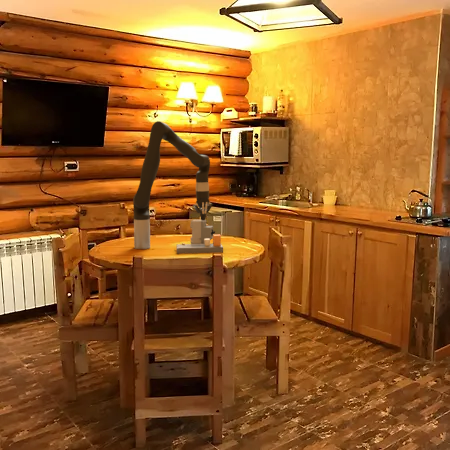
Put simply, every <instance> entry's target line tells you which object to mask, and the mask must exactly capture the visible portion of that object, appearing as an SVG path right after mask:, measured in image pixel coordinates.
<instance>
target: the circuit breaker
mask: <svg viewBox="0 0 450 450" xmlns="http://www.w3.org/2000/svg"><path fill="white" fill-rule="evenodd" d="M189 226H190V229H191V237H190V244H204V239H208V238H209V239H210V241H211V240H213V235H215V234H216V231H215V230H214V225H207V219H205V220H203V221H202V220H201V219H192V220H190V225H189Z"/></svg>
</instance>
